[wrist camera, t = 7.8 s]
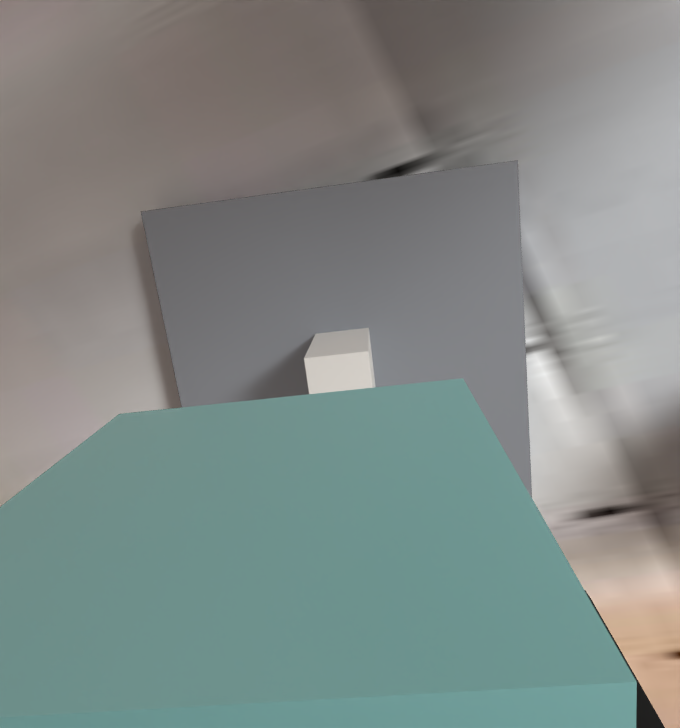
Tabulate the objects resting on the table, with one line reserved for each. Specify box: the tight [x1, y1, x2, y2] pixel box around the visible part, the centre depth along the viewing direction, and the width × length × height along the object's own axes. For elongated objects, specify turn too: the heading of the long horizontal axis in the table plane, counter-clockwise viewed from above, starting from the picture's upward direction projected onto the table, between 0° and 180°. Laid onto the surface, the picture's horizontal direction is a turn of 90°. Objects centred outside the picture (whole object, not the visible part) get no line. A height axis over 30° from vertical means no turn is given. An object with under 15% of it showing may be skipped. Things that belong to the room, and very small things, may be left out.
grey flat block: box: [141, 160, 532, 498], centre depth 24 cm, size 16×16×6 cm
